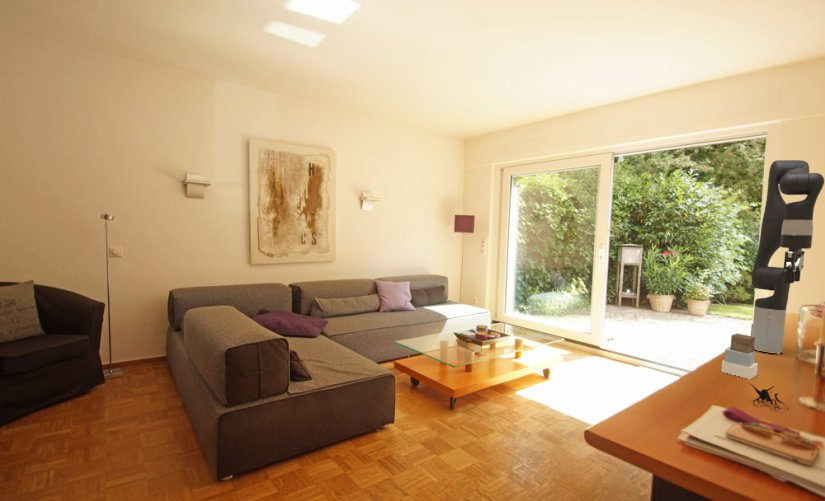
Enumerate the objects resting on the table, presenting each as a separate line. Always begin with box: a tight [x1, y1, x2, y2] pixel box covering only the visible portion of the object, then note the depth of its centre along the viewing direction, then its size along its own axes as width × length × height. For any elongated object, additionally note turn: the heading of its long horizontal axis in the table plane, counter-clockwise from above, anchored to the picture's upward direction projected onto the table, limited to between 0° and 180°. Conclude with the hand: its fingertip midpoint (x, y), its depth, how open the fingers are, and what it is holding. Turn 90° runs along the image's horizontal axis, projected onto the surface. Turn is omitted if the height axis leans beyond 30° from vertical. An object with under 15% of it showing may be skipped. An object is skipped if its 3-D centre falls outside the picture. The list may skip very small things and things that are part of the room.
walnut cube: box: [730, 333, 755, 354], centre depth 131 cm, size 5×5×5 cm
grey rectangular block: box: [723, 345, 756, 367], centre depth 131 cm, size 6×6×4 cm
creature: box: [748, 382, 789, 411], centre depth 108 cm, size 8×5×8 cm
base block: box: [720, 359, 759, 380], centre depth 132 cm, size 8×8×4 cm
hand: (792, 282), depth 134 cm, fingers open, 8 cm apart
